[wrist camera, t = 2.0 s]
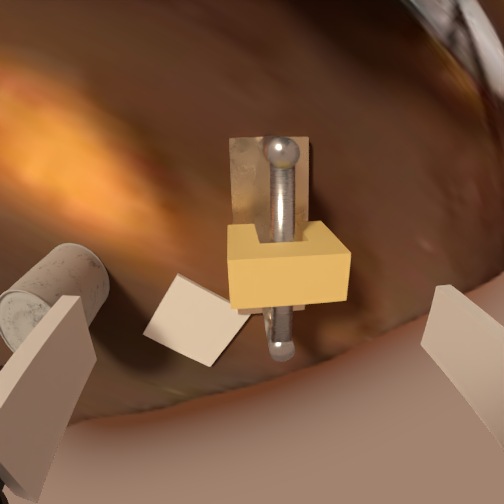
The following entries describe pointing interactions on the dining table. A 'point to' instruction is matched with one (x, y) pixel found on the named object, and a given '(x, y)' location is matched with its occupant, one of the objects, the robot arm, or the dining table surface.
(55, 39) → the dining table surface
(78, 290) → the grey speckled cylinder
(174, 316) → the coaster
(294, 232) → the rail stand
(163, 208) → the dining table surface
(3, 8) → the dining table surface
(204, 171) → the dining table surface
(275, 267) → the c link
